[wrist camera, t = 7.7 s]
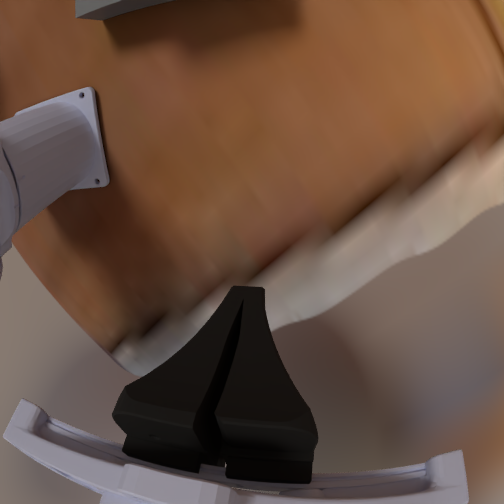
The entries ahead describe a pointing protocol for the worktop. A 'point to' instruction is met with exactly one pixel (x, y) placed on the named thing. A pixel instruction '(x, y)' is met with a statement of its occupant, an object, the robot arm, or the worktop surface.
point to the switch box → (110, 7)
